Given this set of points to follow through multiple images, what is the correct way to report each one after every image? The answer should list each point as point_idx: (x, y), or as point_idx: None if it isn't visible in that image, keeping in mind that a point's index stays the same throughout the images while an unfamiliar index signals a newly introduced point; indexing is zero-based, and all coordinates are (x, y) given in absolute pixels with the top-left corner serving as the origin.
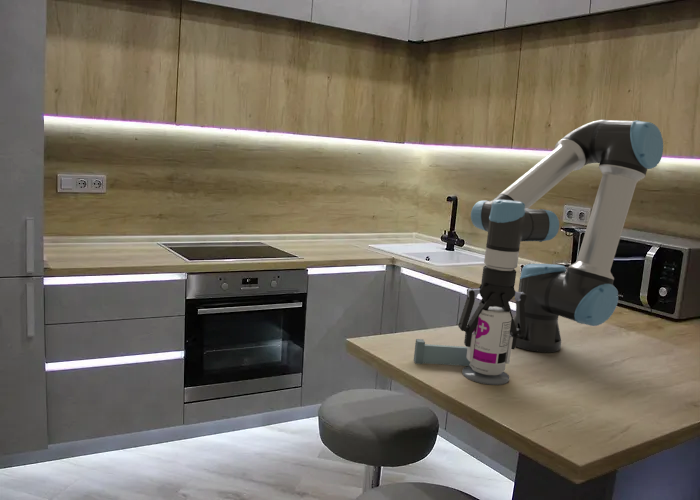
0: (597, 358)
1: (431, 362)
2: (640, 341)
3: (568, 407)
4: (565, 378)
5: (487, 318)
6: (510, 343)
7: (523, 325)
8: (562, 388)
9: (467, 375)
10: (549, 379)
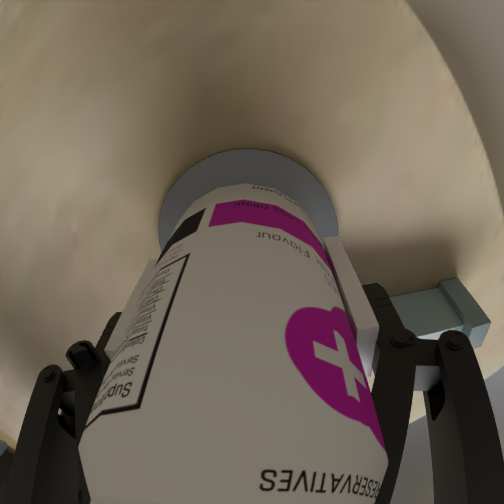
0: (18, 388)
1: (415, 294)
2: (9, 428)
3: (13, 58)
4: (23, 285)
5: (332, 444)
6: (124, 323)
7: (35, 408)
8: (17, 209)
9: (328, 199)
10: (50, 268)
